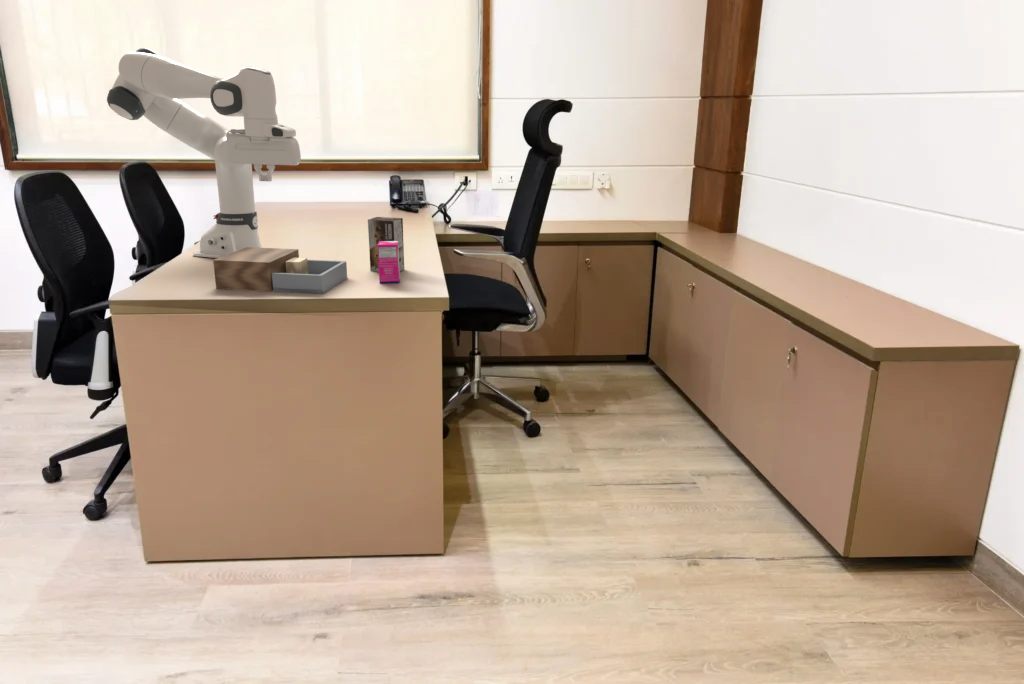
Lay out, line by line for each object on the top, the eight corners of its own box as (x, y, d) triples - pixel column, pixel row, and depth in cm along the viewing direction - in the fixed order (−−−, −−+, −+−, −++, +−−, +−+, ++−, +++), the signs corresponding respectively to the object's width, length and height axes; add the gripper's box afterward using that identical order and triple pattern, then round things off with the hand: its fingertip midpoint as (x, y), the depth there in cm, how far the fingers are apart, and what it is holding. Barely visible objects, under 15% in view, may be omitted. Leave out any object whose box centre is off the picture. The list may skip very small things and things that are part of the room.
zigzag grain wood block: (216, 288, 206) (213, 260, 204) (249, 273, 225) (246, 247, 223) (271, 291, 204) (269, 262, 202) (300, 275, 223) (298, 249, 221)
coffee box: (405, 269, 235) (403, 217, 230) (395, 273, 229) (394, 220, 224) (379, 267, 237) (377, 216, 233) (369, 270, 232) (367, 218, 227)
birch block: (285, 261, 208) (299, 262, 208) (293, 257, 214) (307, 258, 214) (287, 282, 210) (301, 283, 210) (295, 278, 216) (308, 278, 215)
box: (273, 291, 204) (271, 273, 203) (301, 275, 223) (300, 259, 222) (322, 293, 203) (321, 275, 201) (347, 277, 222) (346, 261, 220)
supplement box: (380, 279, 221) (378, 240, 217) (400, 279, 221) (399, 240, 218) (378, 283, 215) (377, 244, 212) (399, 283, 216) (398, 244, 212)
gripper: (219, 129, 203) (224, 181, 207) (292, 131, 201) (295, 183, 205) (231, 128, 209) (235, 179, 213) (301, 130, 207) (304, 181, 211)
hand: (265, 181), depth 209 cm, fingers closed
